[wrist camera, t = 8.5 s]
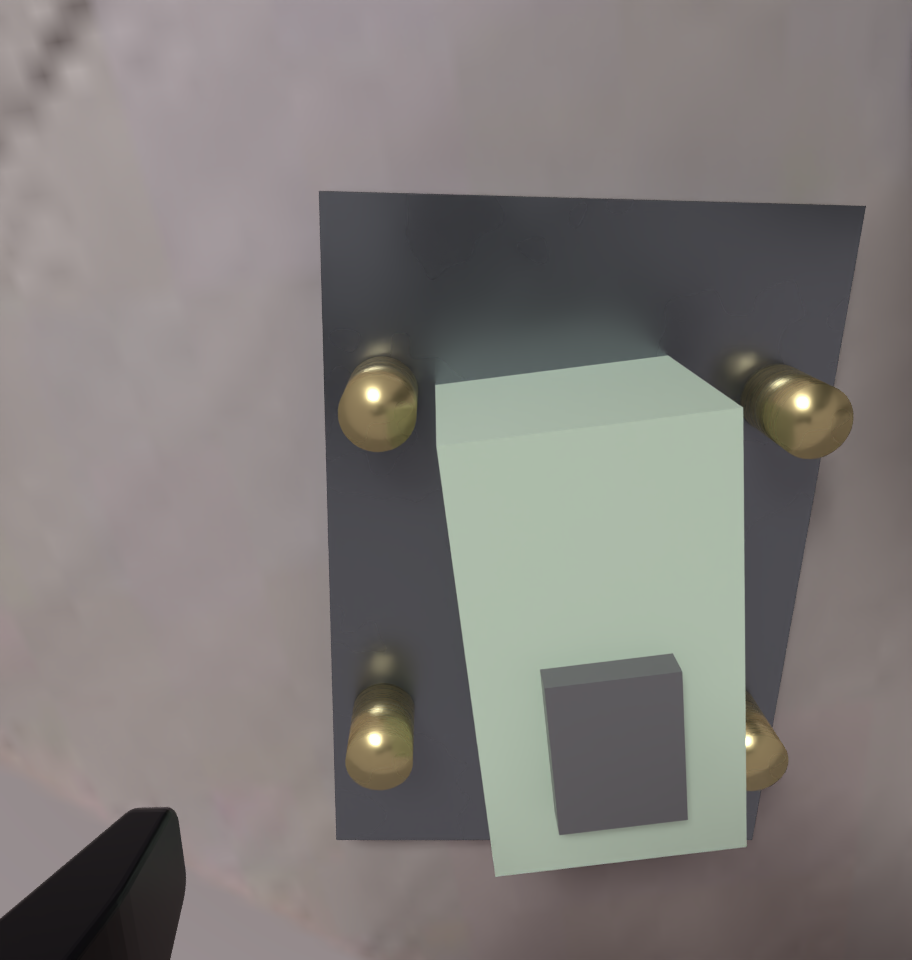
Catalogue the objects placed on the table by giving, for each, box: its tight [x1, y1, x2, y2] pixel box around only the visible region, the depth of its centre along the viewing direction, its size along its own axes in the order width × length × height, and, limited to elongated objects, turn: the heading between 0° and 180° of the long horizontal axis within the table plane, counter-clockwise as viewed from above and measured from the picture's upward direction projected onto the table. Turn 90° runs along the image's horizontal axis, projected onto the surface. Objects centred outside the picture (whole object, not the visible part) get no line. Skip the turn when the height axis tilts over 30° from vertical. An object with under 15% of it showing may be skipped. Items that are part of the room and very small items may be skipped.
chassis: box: [319, 191, 866, 840], centre depth 19 cm, size 11×16×3 cm
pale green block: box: [435, 355, 747, 877], centre depth 17 cm, size 5×9×5 cm, turn 7°
